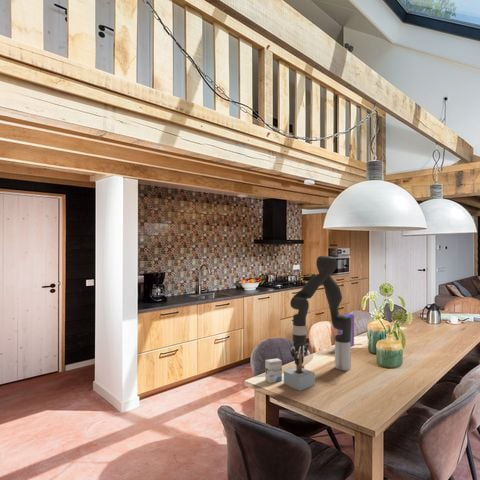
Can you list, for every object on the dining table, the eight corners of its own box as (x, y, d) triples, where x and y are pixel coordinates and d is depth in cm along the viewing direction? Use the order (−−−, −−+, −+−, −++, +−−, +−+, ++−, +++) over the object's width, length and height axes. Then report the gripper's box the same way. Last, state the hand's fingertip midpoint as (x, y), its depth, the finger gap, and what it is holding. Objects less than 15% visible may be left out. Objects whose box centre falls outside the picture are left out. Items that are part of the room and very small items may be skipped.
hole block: (298, 378, 205) (298, 366, 205) (314, 385, 195) (314, 372, 195) (283, 383, 197) (283, 371, 197) (299, 390, 188) (299, 377, 188)
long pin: (302, 377, 196) (303, 352, 196) (299, 379, 194) (299, 353, 194) (298, 376, 198) (299, 351, 198) (295, 377, 196) (295, 352, 197)
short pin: (301, 374, 211) (301, 364, 211) (305, 375, 209) (305, 365, 209) (298, 375, 209) (298, 365, 210) (301, 377, 207) (302, 366, 207)
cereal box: (343, 350, 259) (343, 317, 259) (337, 349, 262) (337, 316, 263) (354, 345, 272) (354, 314, 272) (348, 344, 275) (348, 313, 275)
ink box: (278, 377, 206) (278, 357, 206) (282, 381, 201) (282, 360, 201) (264, 379, 203) (264, 359, 203) (268, 383, 198) (268, 362, 198)
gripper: (295, 336, 189) (295, 368, 189) (312, 332, 198) (312, 363, 198) (285, 333, 195) (285, 364, 195) (302, 329, 204) (302, 359, 203)
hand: (299, 363), depth 196 cm, fingers closed on long pin, 3 cm apart
